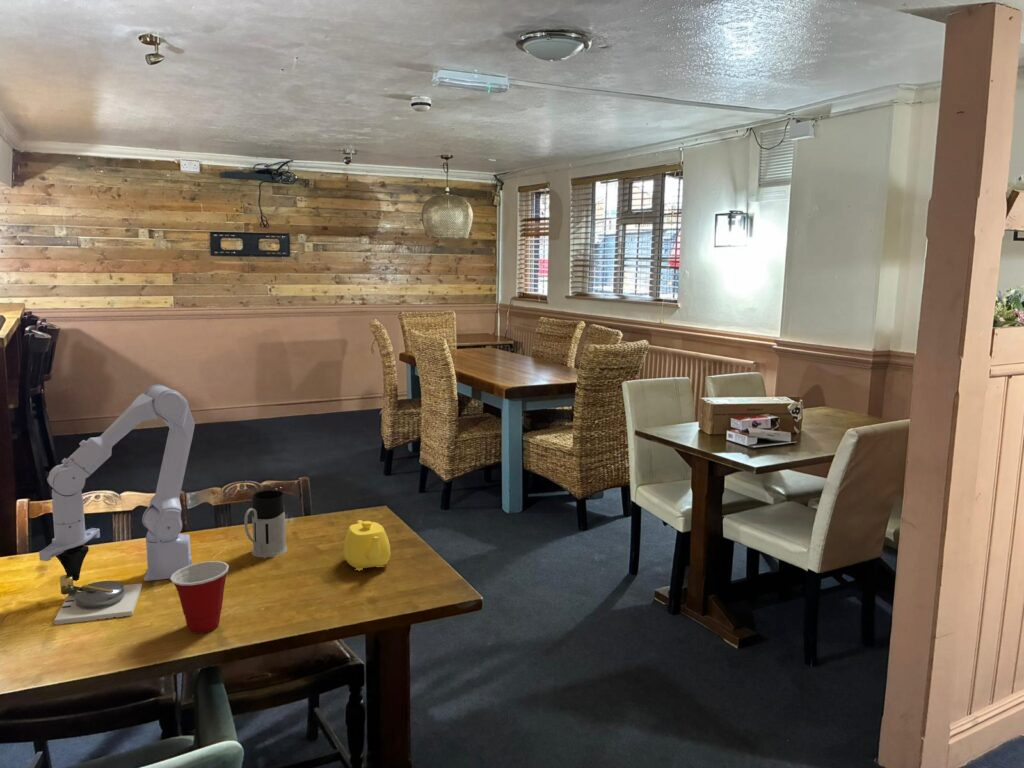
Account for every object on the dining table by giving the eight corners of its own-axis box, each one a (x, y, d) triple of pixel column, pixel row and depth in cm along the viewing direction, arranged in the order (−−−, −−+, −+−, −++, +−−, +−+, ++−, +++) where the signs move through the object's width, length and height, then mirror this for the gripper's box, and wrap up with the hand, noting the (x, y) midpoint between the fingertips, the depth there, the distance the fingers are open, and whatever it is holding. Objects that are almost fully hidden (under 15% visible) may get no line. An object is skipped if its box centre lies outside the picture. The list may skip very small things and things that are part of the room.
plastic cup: (184, 614, 154) (181, 559, 152) (237, 613, 155) (235, 558, 153) (164, 640, 143) (161, 581, 142) (222, 639, 144) (219, 581, 142)
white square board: (141, 587, 166) (141, 582, 166) (132, 615, 153) (131, 610, 153) (70, 595, 162) (70, 590, 161) (54, 624, 149) (54, 619, 148)
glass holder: (294, 547, 191) (292, 491, 189) (263, 568, 178) (261, 508, 176) (264, 543, 194) (262, 488, 191) (231, 564, 180) (228, 504, 178)
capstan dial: (133, 593, 160) (132, 577, 159) (99, 611, 152) (98, 594, 151) (81, 582, 164) (79, 567, 164) (44, 599, 156) (43, 584, 155)
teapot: (400, 575, 176) (400, 532, 174) (354, 583, 171) (353, 538, 169) (379, 548, 192) (379, 509, 190) (337, 555, 187) (336, 514, 185)
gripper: (79, 507, 167) (83, 565, 169) (24, 529, 153) (30, 591, 155) (106, 510, 166) (110, 568, 168) (53, 533, 152) (58, 595, 154)
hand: (73, 580), depth 161 cm, fingers closed
